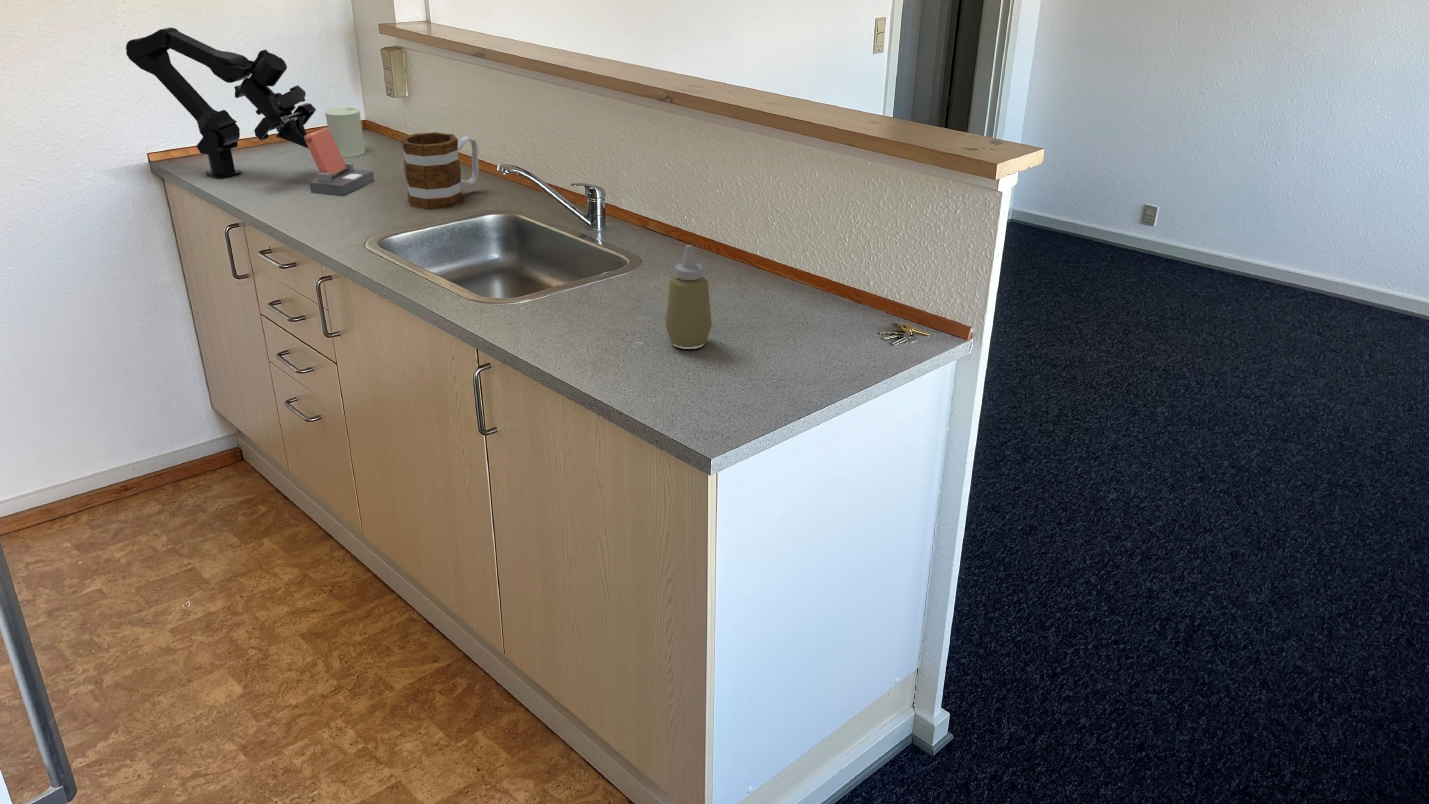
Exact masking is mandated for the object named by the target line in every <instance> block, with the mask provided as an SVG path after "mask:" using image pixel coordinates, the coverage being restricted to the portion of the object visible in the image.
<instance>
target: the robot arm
mask: <svg viewBox="0 0 1429 804" xmlns="http://www.w3.org/2000/svg"><path fill="white" fill-rule="evenodd" d="M169 50H173V51H174V52H177V53H179V54H181V55H183V56H185V57H187V58H190V59H191V60H193V61H195V62H197V63H200V64H201V65H204V66H205V67H207V68H208V69H210V70H211V73H212V74H213V75H214V76H216V77H217V78H218V79H221V80H222V81H223V82H226V83H228V84H232V83H235V82H240V81H242V82H240V84H239V85H235V86H234V98H235V99H239V98H241V97H245V98H246V99H247V100H248V101H249V102H250V103H251V104H252V105H253V106H254V107H255V109H256V111H255V113H256V114H257V115H258V116H260V115H263V117H262V119H261V120H260V122H259V123H257V125H256V127H255V128H254V129H253V132H254V135H255V137H256V138H257V139H258V140H259V141H260V142H262V141H265V140H267V139H268V138H269V132H270V131H273V130H276V132H277V135H276V136H275V137H276V138H277V139H283V140H285V141H288V142H291V143H293V144H296V145H299V146H301V147H303V148H306V149H308V150H309V148H308V146H307V144H306V141H305V139H304V137H305V135H307V134H308V133H307V131H306V128H305V125H306V124H307V123H308V122H309V120H310V119H311V117H312V116H313V115H314V114H315V112H316V111H317V108H315V107H314V105H312V103H307V102H306V98H305V97H306V95H307V94H306V90H304V89H303V88H302V87H300V86H299V85H294V86H293V87H290V88H289V91H287V92H285V93H283V94H282V93H280V92H274V91H273V89H271V88H270V87H274V86H276V84H277V83H278V82H279V80H280V79H281V78H282V76H283V74H285V72H286V71H287V68H288V66H287V63H286V62H285V60H284V59H283V58H282V57H279V56H278V55H276V54H274V53H271V52H269V51H268V50H267V49H262V50H260V51H259V52H258V53H257V56H256V58H255V59H254V60H250V59H248V58H247V57H246V56H245V55H242V54H240V53H239V54H238V53H236V52H232V51H225V50H219V49H216V48H214V47H213V46H210V45H208V44H206V43H204V42H201V41H200V40H197V39H196V38H194V37H191V36H189V35H187V34H185V33H183V32H181V31H179V30H178V29H177V28H176V27H175V28H174V27H170V26H169V27H165V28H161V29H160V28H159V29H158V30H157V31H155V32H153V33H152V34H149V35H146V36H144V37H138V38H134V39H130V40H128V41H127V42H126V44H125V53H126V56H127V58H128V59H129V61H131V63H133V64H134V65H136V66H137V67H138V68H139V69H141V70H142V71H144V72H147V73H148V74H151V75H153V76H154V77H156V79H157V80H158V81H159V82H160V83H161V84H162V85H163V86H164V87H165V88H166V90H168V91H169V93H170V94H171V95H172V96H173V97H174V98H175V100H177V102H179V103H180V104H181V106H182V107H183V108H184V109H185V110H186V111H187V112H188V113H189V114H190V115H191V116H192V117H193V119H194V120H195V121H196V124H197V126H198V131H199V133H200V135H201V136H202V138H201V139H200V140H199V142H198V143H197V144H196V148H197V150H198V152H199V153H200V154H202V155H203V154H204V155H207V158H208V164H209V168H210V171H205V174H206V175H207V176H210V177H213V178H216V179H223V178H228V177H231V176H232V177H233V176H237V175H242V171H240V170H237V169H236V168H235V163H234V157H233V152H232V149H235V148H237V147H238V143H239V140H240V136H241V134H240V131H241V130H240V127H239V125H238V124H237V123H238V121H237V120H235V118H233V117H232V116H231V115H230V114H229V112H228V111H227V110H225V109H222V110H219V111H218V110H215V109H213V107H212V106H211V105H210V103H208V102H207V101H206V100H205V99H204V98H203V96H202V95H200V94H199V92H198V91H197V90H196V89H195V88H194V87H193V86H192V85H191V83H190V82H189V81H187V79H186V78H185V77H184V76H183V75H182V74H181V73H180V72H179V71H178V70H177V68H175V66H174V65H173V64H172V62H171V59H170V54H169V52H168V51H169ZM303 102H306V103H303ZM300 103H302V104H300ZM297 104H300V105H298V106H297V107H296V106H295V105H297Z"/></svg>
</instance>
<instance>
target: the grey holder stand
mask: <svg viewBox="0 0 1429 804" xmlns="http://www.w3.org/2000/svg"><path fill="white" fill-rule="evenodd" d="M345 165H346V167H347V168H346V169H344V170H342V171H340V172H337V173H335V174H333V175H331V173H323V172H320V171H319V172H317V178H316V179H315V180H312V181H310V182H309V188H310V193H313V194H323V195H333V196H339V197H344V196H347V195H348V194H351V193H353V192H354V191H356V190H358V189H361V188H363V187H364V186H366V185H369V184H370V183H373V182H374V181H375V178H374V171H373V170H367V169H366V170H364V169H354V168H355V167H354V163H353V162H352V163H351V162H345Z"/></svg>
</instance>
